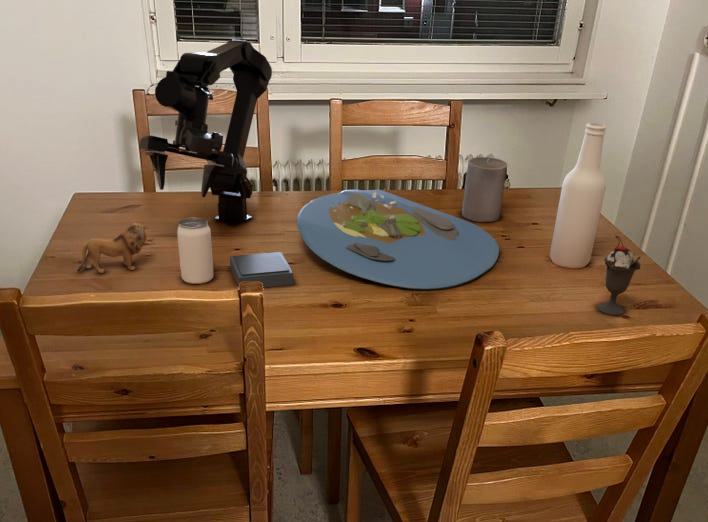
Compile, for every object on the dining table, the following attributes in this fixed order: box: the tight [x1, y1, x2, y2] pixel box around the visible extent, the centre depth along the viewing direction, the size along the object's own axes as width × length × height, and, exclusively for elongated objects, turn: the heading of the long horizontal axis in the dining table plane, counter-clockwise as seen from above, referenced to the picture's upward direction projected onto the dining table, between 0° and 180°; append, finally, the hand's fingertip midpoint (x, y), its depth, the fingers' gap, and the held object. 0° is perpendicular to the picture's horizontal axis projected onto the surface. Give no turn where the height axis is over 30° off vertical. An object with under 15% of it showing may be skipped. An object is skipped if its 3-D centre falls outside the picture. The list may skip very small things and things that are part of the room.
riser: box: [229, 251, 294, 289], centre depth 152 cm, size 11×11×3 cm
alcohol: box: [549, 121, 607, 269], centre depth 157 cm, size 9×9×30 cm
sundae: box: [597, 235, 642, 316], centre depth 141 cm, size 7×7×15 cm
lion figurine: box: [76, 222, 147, 274], centre depth 151 cm, size 15×5×9 cm, turn 116°
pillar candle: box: [461, 156, 508, 223], centre depth 184 cm, size 10×10×15 cm
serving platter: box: [296, 187, 500, 291], centre depth 165 cm, size 45×43×12 cm
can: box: [176, 216, 214, 285], centre depth 148 cm, size 6×6×12 cm
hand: (182, 193), depth 155 cm, fingers open, 9 cm apart
